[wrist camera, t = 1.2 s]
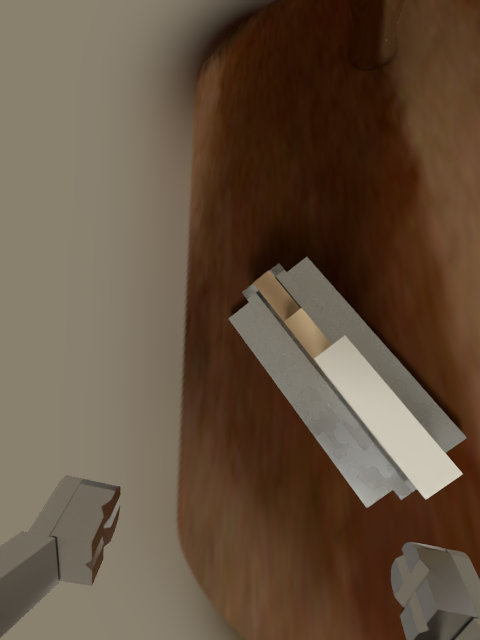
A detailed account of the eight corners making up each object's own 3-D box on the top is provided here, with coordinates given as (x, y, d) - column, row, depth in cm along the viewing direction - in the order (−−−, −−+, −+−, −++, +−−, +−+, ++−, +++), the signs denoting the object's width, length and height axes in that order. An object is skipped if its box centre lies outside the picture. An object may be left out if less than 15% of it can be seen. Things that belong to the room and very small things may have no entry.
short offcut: (281, 292, 43) (268, 270, 35) (307, 324, 41) (300, 308, 34) (267, 302, 43) (252, 282, 35) (293, 334, 41) (283, 321, 34)
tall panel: (341, 366, 39) (345, 335, 19) (392, 428, 37) (462, 474, 16) (326, 376, 40) (314, 358, 19) (376, 440, 37) (425, 499, 16)
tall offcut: (310, 327, 41) (301, 307, 32) (338, 362, 39) (338, 352, 30) (296, 338, 41) (283, 321, 32) (324, 373, 40) (319, 367, 30)
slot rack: (307, 260, 44) (303, 243, 39) (461, 436, 36) (482, 443, 31) (231, 320, 45) (218, 311, 40) (365, 503, 37) (370, 521, 32)
